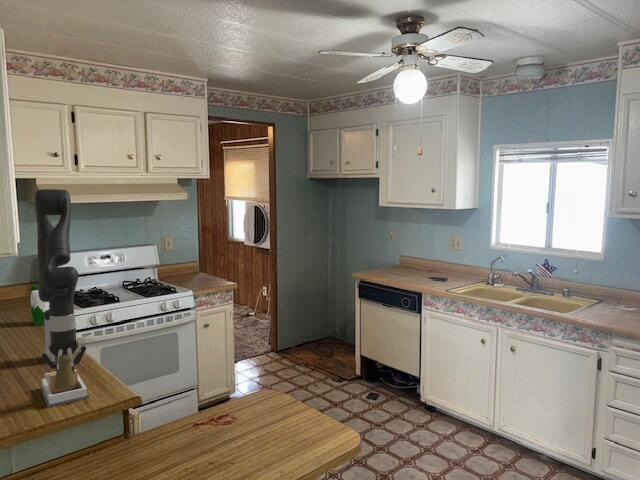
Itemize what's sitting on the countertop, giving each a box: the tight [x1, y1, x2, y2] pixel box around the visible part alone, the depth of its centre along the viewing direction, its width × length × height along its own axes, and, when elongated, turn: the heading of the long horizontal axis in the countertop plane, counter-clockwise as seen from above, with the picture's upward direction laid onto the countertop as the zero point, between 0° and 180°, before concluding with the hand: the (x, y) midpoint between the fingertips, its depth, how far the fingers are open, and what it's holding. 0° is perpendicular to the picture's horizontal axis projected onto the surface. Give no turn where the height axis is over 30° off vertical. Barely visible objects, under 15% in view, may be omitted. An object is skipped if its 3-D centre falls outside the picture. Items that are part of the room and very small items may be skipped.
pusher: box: [49, 369, 79, 393], centre depth 164 cm, size 4×8×6 cm, turn 126°
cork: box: [54, 353, 75, 388], centre depth 159 cm, size 6×6×11 cm
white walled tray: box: [40, 371, 90, 408], centre depth 164 cm, size 18×12×5 cm, turn 36°
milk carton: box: [30, 284, 49, 327], centre depth 245 cm, size 9×9×20 cm
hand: (65, 377), depth 160 cm, fingers closed on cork, 2 cm apart
